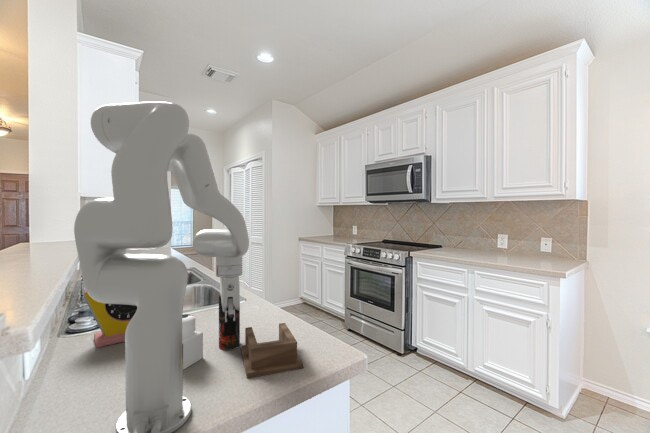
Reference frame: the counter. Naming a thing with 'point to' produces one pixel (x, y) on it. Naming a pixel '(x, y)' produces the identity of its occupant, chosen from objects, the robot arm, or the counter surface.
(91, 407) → the counter surface
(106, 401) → the counter surface
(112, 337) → the yellow clock
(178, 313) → the robot arm
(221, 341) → the deodorant
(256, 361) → the cradle
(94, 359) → the counter surface
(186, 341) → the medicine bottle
